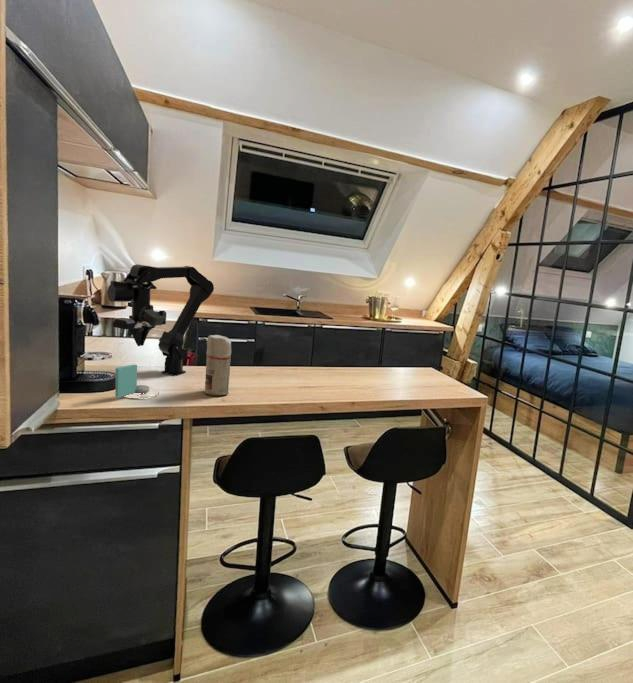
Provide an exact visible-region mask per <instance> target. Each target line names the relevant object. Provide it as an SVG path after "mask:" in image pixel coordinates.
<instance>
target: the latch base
mask: <svg viewBox="0 0 633 683" xmlns="http://www.w3.org/2000/svg"><path fill="white" fill-rule="evenodd" d="M148 387H149V386H148ZM158 393H159V394H160V391H159V389H158V388H155V387H152V386H151V387H149V391H148V392H146V393H144V394H143V393H141V394H140V395H141V396H140V397H139V398H148V397H153V396H156V395H157V394H158ZM137 396H139V395H137ZM156 397H157V396H156ZM153 398H154V397H153Z"/></svg>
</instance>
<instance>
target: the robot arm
mask: <svg viewBox="0 0 633 683" xmlns="http://www.w3.org/2000/svg"><path fill="white" fill-rule="evenodd" d="M174 278H175V279H176V278H178V279H179V278H185V279H186V282H187V283H188V284H189V285H190V288H189V297H188V300H187V302H186V303H185V305H184V307H183V309H182V311H180V314H179V315H178V317H177V319H176V322H175V323H174V325H173V326H172V328H171V330H169V331H165V330H164V331H163V333H162V334H161V336H160V338H159V339H158V349H159V350H160V352H161V354H162V355H163V356H165V360H164V361H165V362H164V370H162V371H161V373H162V372H164V373H163V374H165V373H168V374H167V375H169V374H172V375H171V376H174V375H176V376H178V374H179V375H181V374H186V373H187V371H186V370H184V368H183V367H184V360H186V359H187V357H188V353H187V351H186V350H184V347H183V346H184V344H185V339H184V338H185V334H186V333H187V331H188V329H189V327H190V325H191V323H192V322H193V319H194V317H195V316H196V315H197V312H198V310H199V308H200V306H201V305H202V304H203V303H204V302H205V301H206V300H207V299H209V298H210V296H211V295H212V294H213V292H214V290H215V287H214V283H213V282H212V281H211V280H210V279H208V278H207V277H206V276H205V275H203V274H202V273H200V272H199V271H198V270H197V269H196V267H194V266H189V265H185V266H161V267H156V266H152V265H151V266H150V265H144V264H138V263H137V264H133V265H132V266H131V268H130V270H129V273H128V274H127V276H125V278H123V281H119V280H118V281H117V280H111V281H110V284H109V286H108V288H107V292H106V293H107V294H106V295H107V298H108V301H109V302H111V303H119V302H120V303H125V302H131V303H129V308H131V315H129V316H128V318H125V317H118V318H114V319H113V321H112V327H113V328H118V329H122V330H128V331H129V332H130V334H131V335H132V338H133V340H134V342H135V343H136V345H137V346H138V347H140V346H141V347H142V346H144V344H145V341H146V340H147V336H148V334H149V332H150V331H151V330H152V329H154V328H156V326H162V325H166V324H167V311H165V310H159V311H156V310H155V309H154V305H153V304H151V290H156V289H157V286H155V284H154V283H153V282H155V281H158V280H160V279H174Z"/></svg>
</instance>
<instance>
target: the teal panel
mask: <svg viewBox="0 0 633 683" xmlns="http://www.w3.org/2000/svg"><path fill="white" fill-rule="evenodd" d="M148 391H149V386H148V385H142V384H139V385H138V364H135V363H134V364H129V365H124V366H118V367H115V397H116V398H121V397H122V398H123V396H126V395H129V394H133V393H146V392H148Z"/></svg>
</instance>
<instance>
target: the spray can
mask: <svg viewBox="0 0 633 683" xmlns="http://www.w3.org/2000/svg"><path fill="white" fill-rule="evenodd" d="M231 355H232V340H231V339H229V337H227V336H223V335H220V334H213V335H212V334H210V335H208V336H207V340H206V361H205V362H206V363H205V364H206V366H205V381H204V384H205V385H204V391H203V393H204V392H205V393H204V394H207V395H208V396H215V397H216V396H217V397H218V396H227V395H229V388H230V387H229V385H230V371H231V357H232V356H231Z"/></svg>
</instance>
